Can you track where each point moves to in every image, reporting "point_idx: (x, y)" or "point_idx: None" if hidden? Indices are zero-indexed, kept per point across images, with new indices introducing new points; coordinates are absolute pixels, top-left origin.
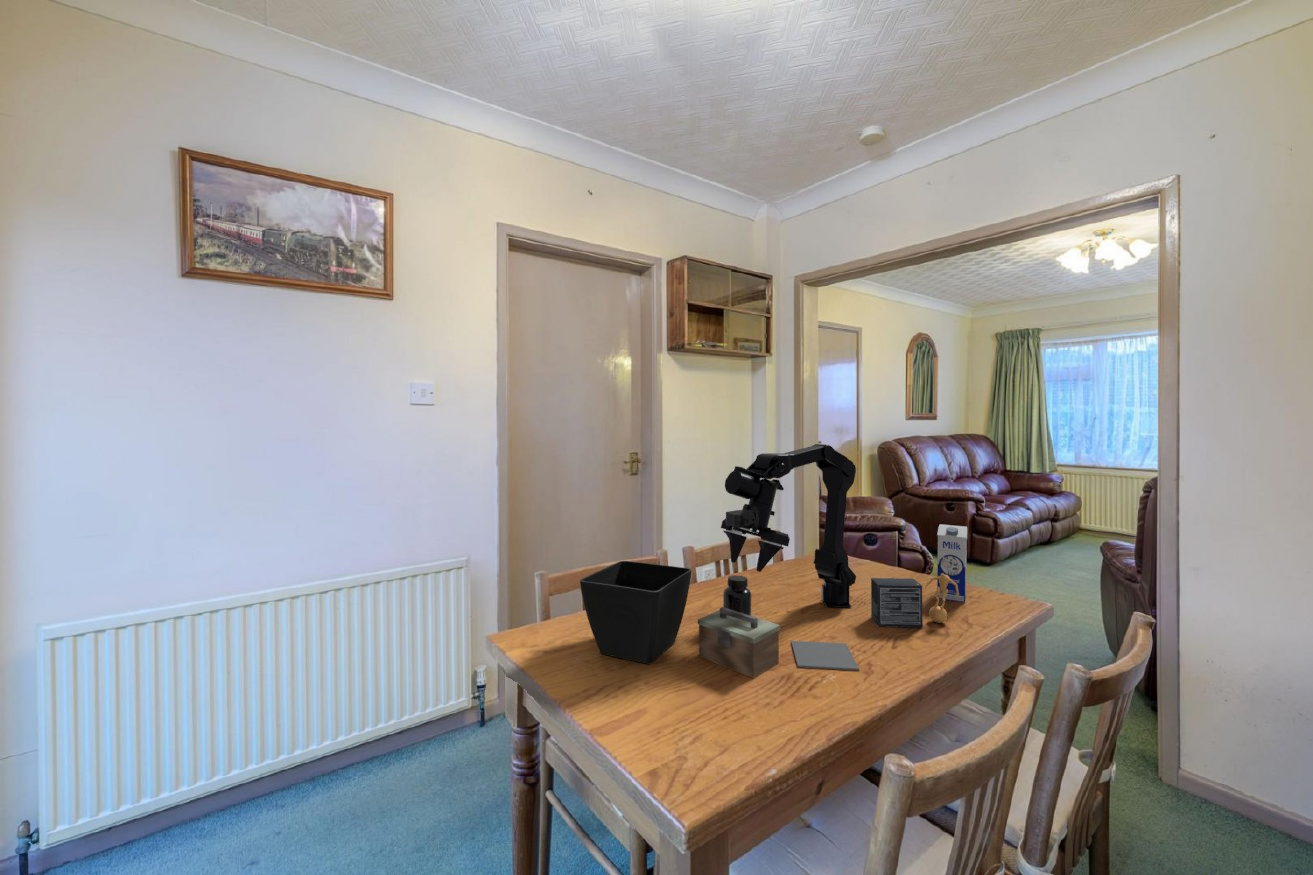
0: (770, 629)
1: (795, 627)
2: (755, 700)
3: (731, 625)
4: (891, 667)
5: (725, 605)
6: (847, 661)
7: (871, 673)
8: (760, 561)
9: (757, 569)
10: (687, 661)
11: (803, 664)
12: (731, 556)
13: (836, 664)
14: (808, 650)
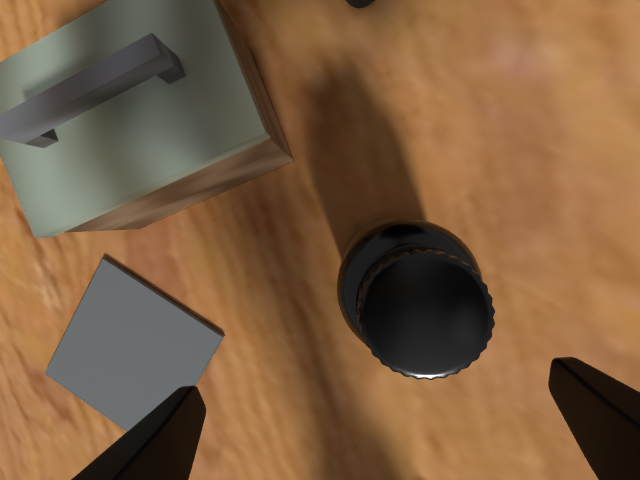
0: (15, 182)
1: (305, 415)
2: None
3: (90, 62)
4: (39, 444)
5: (399, 218)
6: (78, 377)
7: (32, 385)
8: (85, 470)
9: (176, 393)
10: (233, 3)
11: (101, 273)
12: (621, 392)
13: (76, 344)
14: (157, 337)
